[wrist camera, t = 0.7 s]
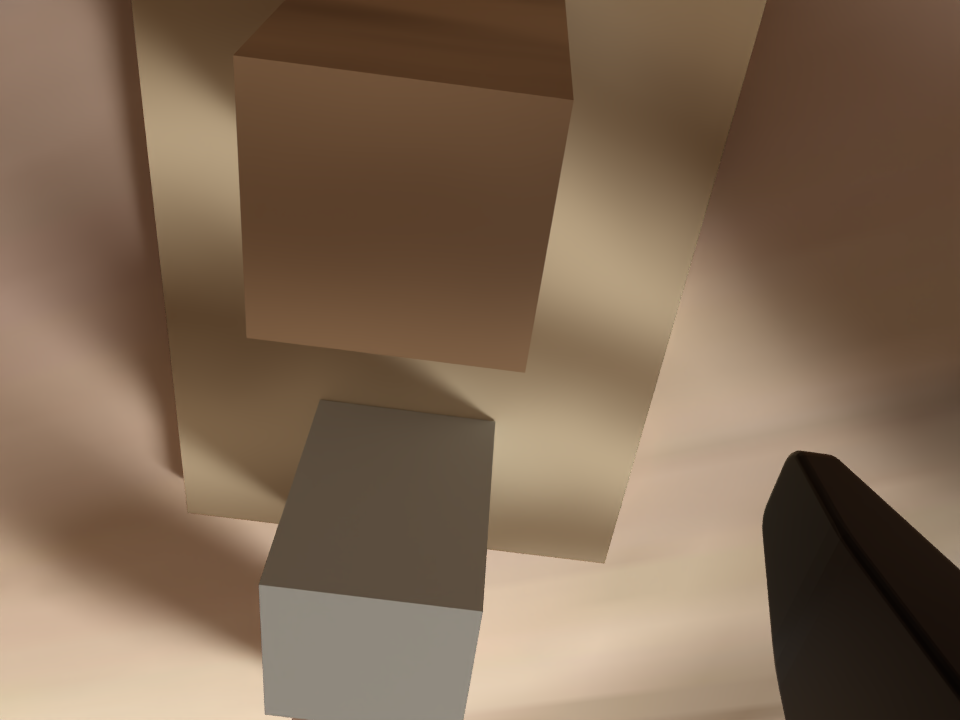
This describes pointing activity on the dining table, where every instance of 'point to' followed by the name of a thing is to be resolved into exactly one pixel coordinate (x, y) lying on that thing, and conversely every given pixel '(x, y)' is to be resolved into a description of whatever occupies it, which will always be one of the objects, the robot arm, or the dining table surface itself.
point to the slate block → (378, 567)
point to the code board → (563, 292)
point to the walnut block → (401, 174)
